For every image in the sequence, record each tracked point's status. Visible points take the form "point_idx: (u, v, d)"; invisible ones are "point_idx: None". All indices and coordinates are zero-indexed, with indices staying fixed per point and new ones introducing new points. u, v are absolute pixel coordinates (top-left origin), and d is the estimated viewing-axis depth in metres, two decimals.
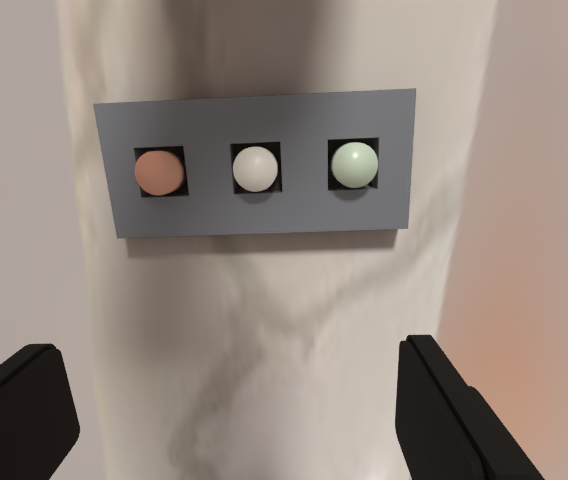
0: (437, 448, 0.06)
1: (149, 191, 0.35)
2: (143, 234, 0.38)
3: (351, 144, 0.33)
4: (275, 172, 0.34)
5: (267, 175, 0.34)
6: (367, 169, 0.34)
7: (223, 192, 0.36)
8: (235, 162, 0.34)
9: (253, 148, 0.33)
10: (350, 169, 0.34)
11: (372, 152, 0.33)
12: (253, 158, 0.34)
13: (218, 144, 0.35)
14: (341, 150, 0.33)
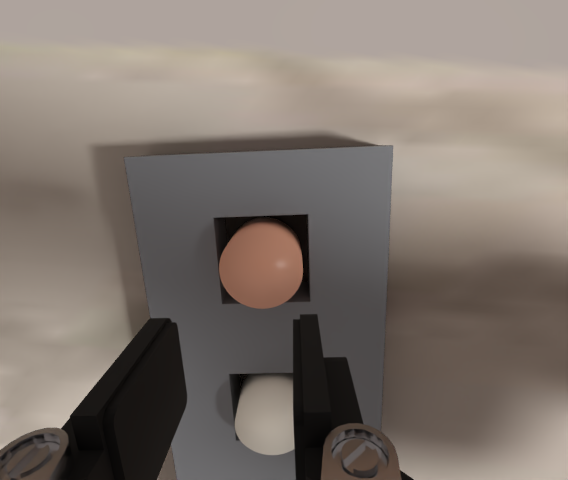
0: None
1: (225, 254, 0.18)
2: (139, 213, 0.19)
3: None
4: (266, 453, 0.21)
5: (261, 442, 0.21)
6: None
7: (231, 359, 0.21)
8: (282, 399, 0.20)
9: None
10: None
11: None
12: (288, 425, 0.20)
13: None
14: None
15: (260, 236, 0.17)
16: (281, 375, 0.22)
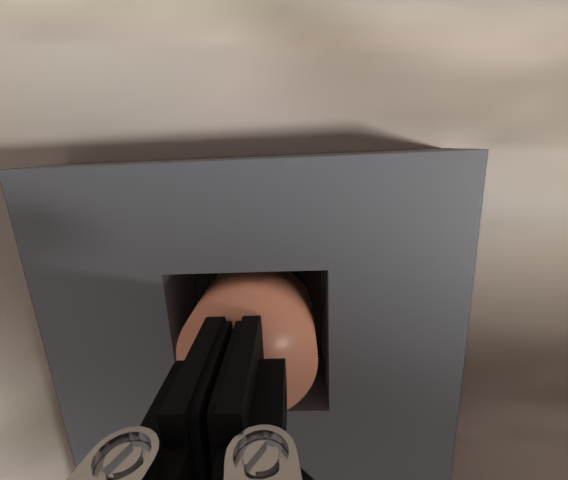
0: None
1: (186, 333, 0.10)
2: (33, 266, 0.11)
3: None
4: None
5: None
6: None
7: None
8: None
9: None
10: None
11: None
12: None
13: None
14: None
15: (245, 305, 0.10)
16: None
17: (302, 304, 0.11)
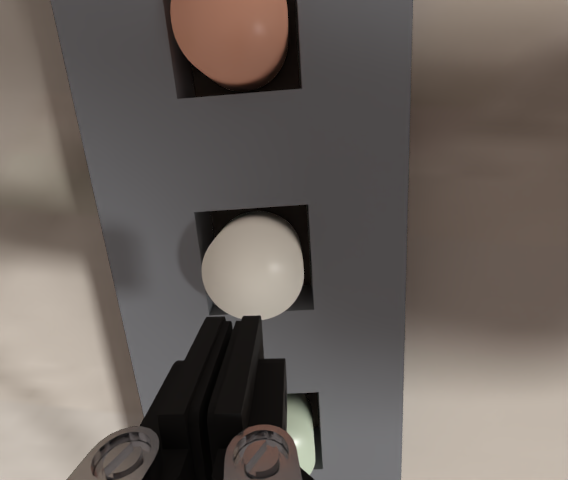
0: None
1: None
2: None
3: (311, 450, 0.17)
4: None
5: (240, 300, 0.15)
6: None
7: (195, 188, 0.15)
8: (266, 230, 0.14)
9: (300, 271, 0.14)
10: None
11: None
12: (276, 271, 0.15)
13: (306, 178, 0.15)
14: (299, 434, 0.17)
15: None
16: (267, 216, 0.16)
17: None
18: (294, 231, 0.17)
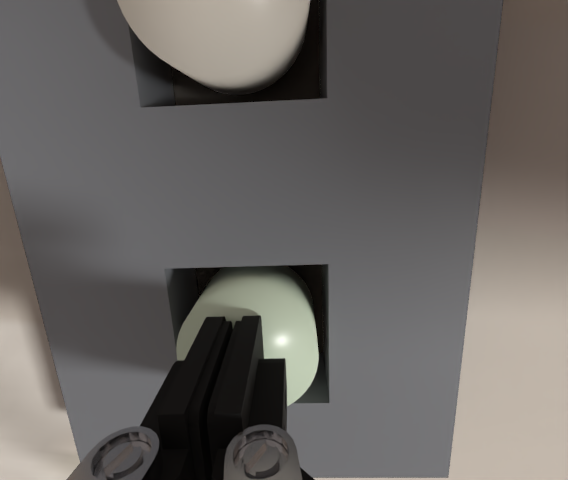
0: None
1: None
2: None
3: (312, 343, 0.10)
4: (203, 70, 0.08)
5: (185, 28, 0.08)
6: None
7: None
8: None
9: None
10: None
11: (287, 400, 0.11)
12: None
13: None
14: (294, 314, 0.10)
15: None
16: None
17: None
18: None
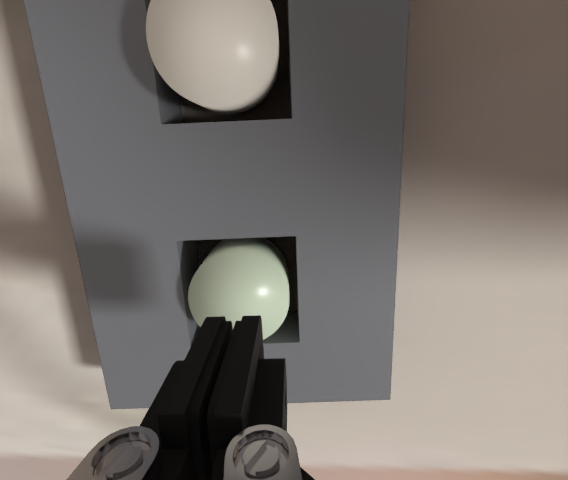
0: None
1: None
2: None
3: (285, 289, 0.15)
4: (207, 102, 0.12)
5: (196, 75, 0.12)
6: (232, 324, 0.15)
7: None
8: None
9: (273, 32, 0.11)
10: (228, 288, 0.15)
11: (268, 332, 0.15)
12: (243, 32, 0.11)
13: None
14: (271, 268, 0.14)
15: None
16: None
17: None
18: None
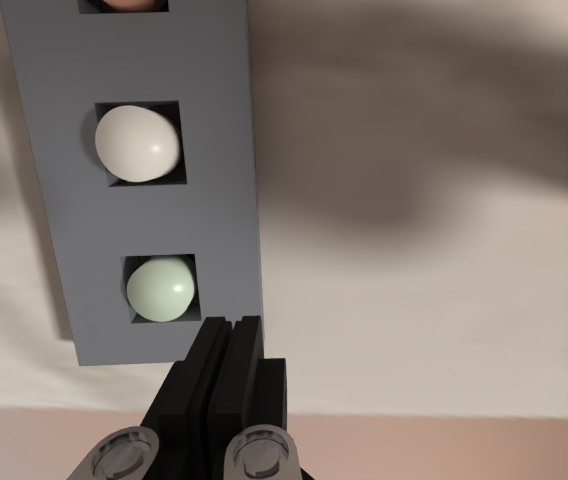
0: None
1: None
2: None
3: (187, 286, 0.24)
4: (131, 179, 0.21)
5: (124, 165, 0.21)
6: (155, 309, 0.24)
7: (95, 83, 0.21)
8: (141, 110, 0.20)
9: (167, 143, 0.20)
10: (152, 286, 0.24)
11: (178, 313, 0.24)
12: (150, 143, 0.20)
13: (176, 80, 0.21)
14: (178, 273, 0.23)
15: None
16: (150, 110, 0.22)
17: None
18: (174, 126, 0.22)
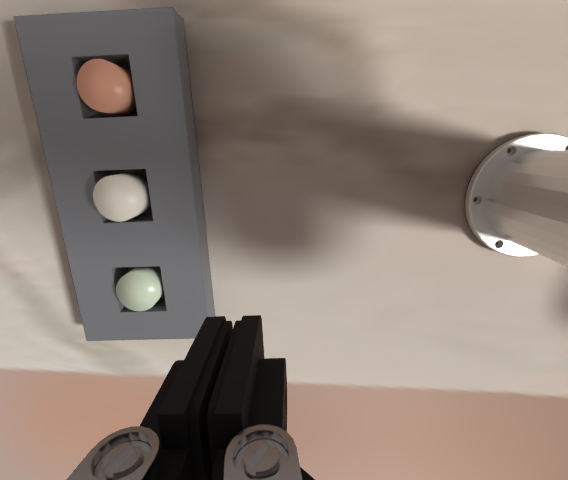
0: None
1: (79, 75, 0.30)
2: (25, 54, 0.30)
3: (155, 288, 0.36)
4: (116, 220, 0.33)
5: (111, 211, 0.33)
6: (135, 302, 0.36)
7: (93, 159, 0.33)
8: (120, 178, 0.32)
9: (137, 198, 0.32)
10: (132, 287, 0.36)
11: (150, 306, 0.36)
12: (126, 198, 0.32)
13: (143, 156, 0.33)
14: (149, 279, 0.35)
15: (98, 63, 0.30)
16: (128, 174, 0.33)
17: (124, 71, 0.31)
18: (144, 183, 0.34)
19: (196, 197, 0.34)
